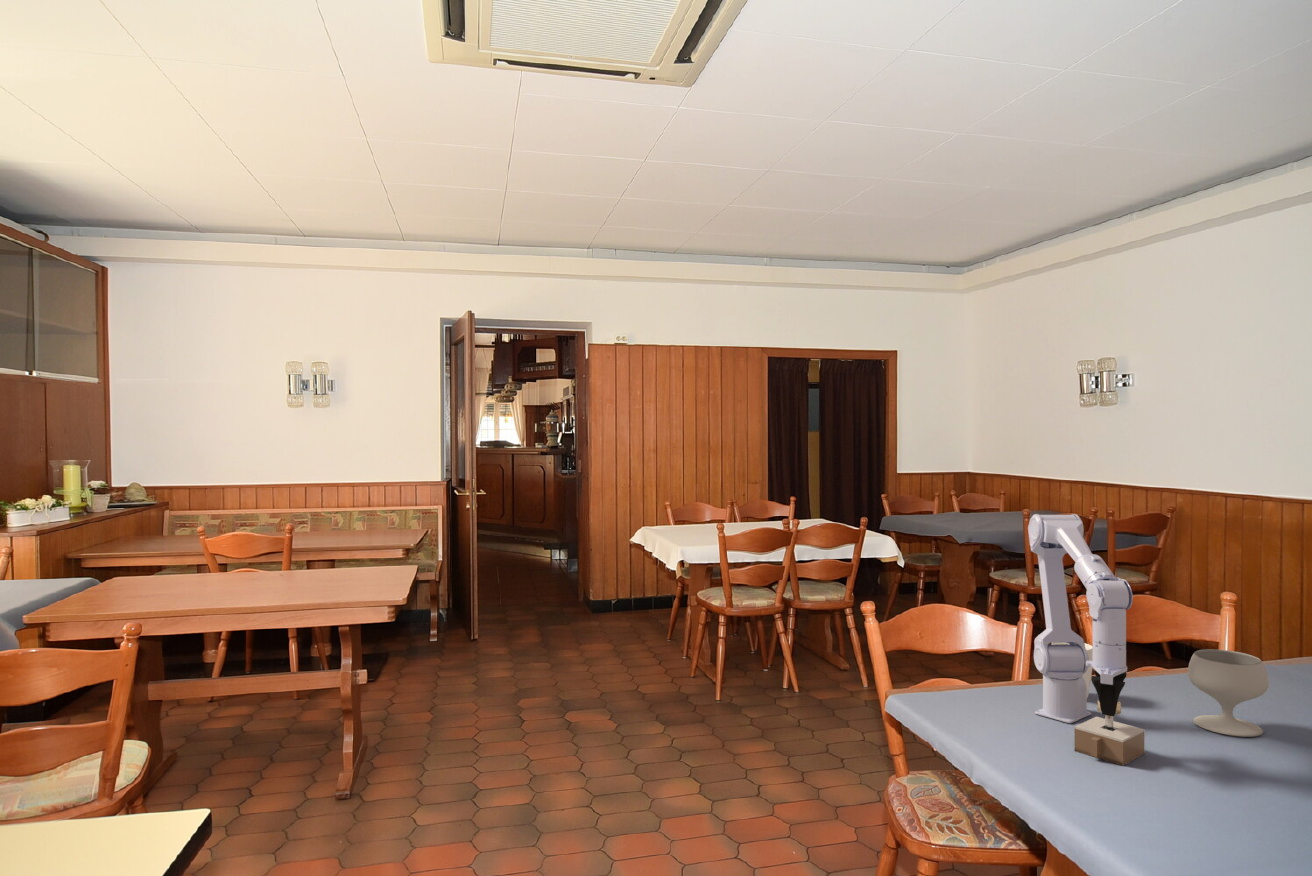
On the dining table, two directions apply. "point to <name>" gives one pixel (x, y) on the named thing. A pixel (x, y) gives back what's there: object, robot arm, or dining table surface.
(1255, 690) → the chalice
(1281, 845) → the dining table surface
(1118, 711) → the plunger
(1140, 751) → the tan box
